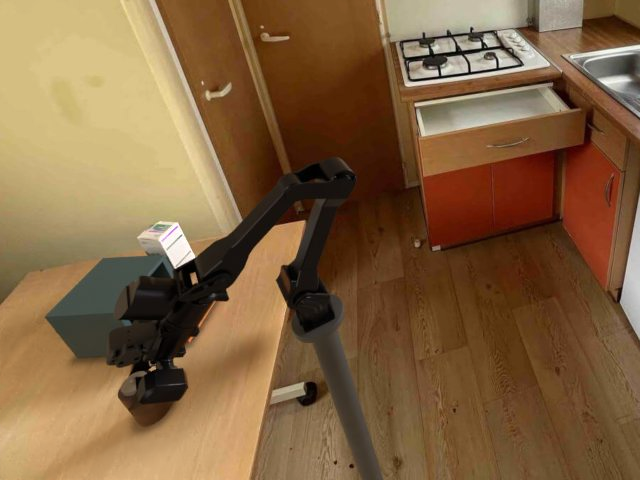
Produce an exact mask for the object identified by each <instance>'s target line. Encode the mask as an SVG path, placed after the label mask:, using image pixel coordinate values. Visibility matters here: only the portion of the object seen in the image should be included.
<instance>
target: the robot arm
mask: <svg viewBox="0 0 640 480" xmlns="http://www.w3.org/2000/svg"><path fill="white" fill-rule="evenodd" d="M312 180H314V181H312ZM357 181H358V178H357V175H356V173H355V172H354V171H353V170H352V168H350V167H349V165H348V164H347V163H346V162H345V161H344V159H342V158H340V157H337V156H331V157H327V158H326V159H324V160H320V161H317V162H312V163H309V164H307V165H305V166H304V167H301V168H300V169H298V170H296V171H292V172H288V173H285V174H283V175H282V176H280V177H279V179H278V180H277V183H276V184H275V186H273V187H272V189H271V190H270V191H269V192H268V193H267V194H265V196H264V197H263V198H262V199H261V200H260V202H259V203H257V204H256V205H255V207H254V208H252V210H251V211H250V212H249V213H248V214H247V215H246V216H245V217H244V218H243V220H242V221H241V222H240V223H239V224H238V225H237V226H236V227H235V228H234V229H233V230H232V231H231V232H230V233H228V235H226V236H224V237H222V238H219V239H217V240H214V241H213V242H212V243H211V244H210V245H209V246H207V247H206V248H205V249H203V251H201V252H200V253H199V254H198V255H197V256H195V258H194V259H192V260H190V261H188V262H186V263H185V264H183V265H181V266H179V267H177V268H176V269H174V270H173V271H172V273H173V278H172V279H166V278H154V277H151V276H139V278H138V279H137V281H132V282H131V283H129V284H128V285H127V286H125V287H124V289H123V290H122V292H121V294H120V296H119V298H118V300H117V302H116V305H115V309H114V319H115V320H129V321H132V322H131V324H132V325H129V326H125V327H120V328H116V329H113V330H112V331H110V333H109V336H108V341H107V347H106V357H105V359H106V362H105V363H106V365H107V366H112V367H114V366H116V368H118V369H122V368H125V367H130V366H131V368H130V371H129V374H128V377H129V376H130V375H132V374H133V373H136V372H138V371H144V370H150V371H151V372H149V373H147V374H145V375H144V376H141V377H135V383H136V390H137V391H136V393H135V395H134V397H133V399H132V401H131V403H130V405H129V407H128V410H127V411H128V412H129V411H130V410H136V409H137V408H139V407H140V406H142V405H146V404H155V403H163V402H172V403H173V402H178V401H180V400H181V399H182V398H183V397H184V395H185V394H186V393H187V391H188V389H189V388H190V387H189V382H188V377H187V372H186V371H185V368H184V367H179V366H177V365H175V361H174V359H176V358H177V359H178V358H180V359H181V358H184V357H185V355H186V354H187V349H186V345H187V344H188V343H187V342H188V340H189V339H190V337H193V338H197V337H198V336H199V334H200V333H201V332H200V327H199V326H198V325H199V324H200V322H201V321H202V319H203V318H204V316H205V315H206V313H207V312H208V310H209V309H210V307H211V306H212V304H213V303H214V301H216V302H228V301H230V296H229V293H228V289H229V288H230V287H231V286H232V285H234V283H235V282H236V281H237V279H238V278H239V276H240V275H241V273H242V272H243V271H244V270H245V267H246V265H247V262H248V260H249V257H250V254H251V253H252V251H253V250H254V249H255V248H256V247H257V246H258V244H259V243H260V242H261V241H262V240H263V238H265V237H266V236H267V234H269V232H270V231H271V230H272V229H273V228H274V227H275V225H277V223H278V222H279V221H280V220H281V219H283V217H284V216H285V215H286V214H287V212H289V210H290V209H291V208H292V207H293V206H294V205H295V204H296V203H297V202H300V201H305V200H314V203H313V205H312V208H311V211H310V214H309V217H308V220H307V223H306V226H305V229H304V232H303V234H302V238H301V241H300V243H299V246H298V249H297V252H296V255H295V258H294V260H292V261H291V262H290V263H289V264H282V265H281V266H280V271H279V274H278V276H277V278H276V279H275V282H276V284H277V286H278V289H279V292H280V294H281V295H282V298H283V301H284V302H285V304H286V306H287V308H288V309H289V310H292V311H294V313H295V312H296V316H297V318H298V321H299V324H300V326H302V325H303V329H304V332H305V333H307V332H309V331H311V330H313V329H315V328H317V327H319V326H321V325H323V324H325V323H327V322H329V321H331V320H333V319H335V317H336V316H335V313H334V310H333V307H332V304H331V300H330V294H331V293H329V291H328V289H327V286H326V284H325V283H324V281H323V280H322V279H321V277H320V275H319V270H318V269H319V264H320V261H321V258H322V256H323V253H324V250H325V247H326V245H327V242H328V238H329V236H330V233H331V230H332V227H333V224H334V222H335V219H336V216H337V214H338V210H339V208H340V206H342V205H343V204H344V203H345V202H346V201H347V200H349V198H350V197H351V194H352V193H353V191H354V189H355V187H356V185H357V183H358V182H357ZM194 273H195V277H196V281H197V282H194V283H193V281H192V276H191V275H192V274H194ZM214 304H215V303H214ZM212 307H213V306H212ZM333 316H334V317H333ZM307 329H308V330H307ZM152 367H153V368H155V369H152V370H151V368H152Z"/></svg>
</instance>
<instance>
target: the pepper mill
mask: <svg viewBox="0 0 640 480" xmlns="http://www.w3.org/2000/svg"><path fill="white" fill-rule="evenodd" d="M151 371H152V370H151V369H149V370H144V371H138V372H136V373H133V374H132V375H130V376H129V375H128V376H127V377H126V378H125V379H124V380H123V382H122V383H121V385H120V387H119V389H118V390H117V398H118V400H119V401H120V402H121V404H122V405H123V406H124V407H125V409H127V411H128V407H129V405H130V403H131V401H132V399H133V397H134V395H135V393H136V391H137V390H136V383H135V377H141V376H144V375H145V374H147V373H149V372H151ZM172 405H173V401H172V402H163V403H155V404H146V405H142V406H140V407H139V408H137V409H136V410H130V411H128V412H129V414H130V415H131V416H132V417H133V418H134V420H135V421H136V422H137V424H138V426H140V427H143V428H145V427H146V428H147V427H150V426H153V425H156V424H157V423H159V422H160V421H161V420H162V419H164V418H165V417H166V416H167V414H168V413H169V411H170V410H171V408H172Z"/></svg>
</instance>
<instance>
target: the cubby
mask: <svg viewBox="0 0 640 480" xmlns="http://www.w3.org/2000/svg"><path fill="white" fill-rule="evenodd" d="M172 271H173V269H172V267H171V266H170V264H169V262H168V260H167V258H166V256H165V255H152V256H147V255H134V256H117V257H116V256H113V257H102V259H100V260H99V261H98V262H97V264H95V265H94V266H93V267H92V268H91V269H90V270H89V271H88V272H87V274H85V275H84V276H83V277H82V279H80V280H79V281H78V283H76V284H75V286H74V287H72V288H71V289H70V290H69V292H67V293H66V294H65V295H64V297H62V299H60V301H58V303H56V304H55V305H54V306H53V308H51V309H50V310H49V312H47V313H46V315H45V316H44V319H45V320H46V321H47V322H48V324H49V325H50V326H51V327H52V329H53V330H54V331H55V332H56V334H57V335H58V336H59V338H60V339H61V340H62V341H63V342H64V343H65V345H66V347H68V348H69V350H70V351H71V353H73V355H74V356H75V357H76V359H80V360H81V359H94V358H106V347H107V341H108V336H109V333H110V331H112V330H113V329H116V328H120V327H125V326H129V325H132V322H131V320H115V319H114V309H115V305H116V302H117V300H118V298H119V296H120V294H121V292H122V290H123V289H124V287H125V286H127V285H128V284H129V283H131V282H132V281H137V279H138V278H139V276H151V277H154V278H166V279H172V278H173V273H172Z"/></svg>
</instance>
